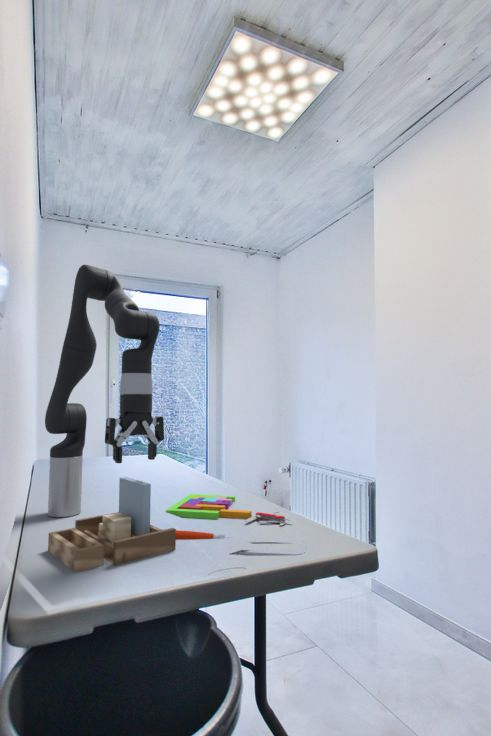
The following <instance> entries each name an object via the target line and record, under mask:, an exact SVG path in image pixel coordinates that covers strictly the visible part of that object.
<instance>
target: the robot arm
mask: <svg viewBox="0 0 491 736" xmlns="http://www.w3.org/2000/svg"><path fill="white" fill-rule="evenodd" d="M88 299H90V300H95V301H101V302H103V301H104V308H105V311H106V313H107V315H109V317H110V318H111V320H113V324H114V330H115V333H116V335H118V336H119V337H120V338H123V339H126V340H136V341H137V340H138V341H140V344H139V346H138V347H135V348H128V349H124V350H123V352H122V353H121V377H120V384H119V417H118V418H115V417H107V418H106V421H105V432H104V433H105V434H104V443H105V444H106V445H109V446H112V460H113V461H114V463H116V464H122V462H123V446H122V445H123V443H124V442H125V440H127V439H128V438H129V436H131V437H132V436H133V437H135V436H143V437H144V438H145V439H146V441H147V442H148V443H147V459H148V460H151V461H153V460H155V458H156V457H157V455H158V453H157V451H158V446H157V445H158V443H159V442H162V441H165V427H164V425H165V423H164V417H163V416H158V415H157V416H154V417H153V416H152V412H153V377H152V376H153V375H152V365H153V364H152V360H153V359H152V358H153V354H154V349H155V346H156V342H157V339H158V336H159V332H160V322H159V318H158V316H157V315H156V314H155V313H153V312H150V311H141V310H140V307H138V305H137V304H136V303H135V301H133V300H132V298H130V297H129V296H128V295H127V294H126V293H125V291H124V288H123V287H122V284H121V282H120V281H119V279H118V277H117V276H116V274H114V272H113V271H110V270H107V269H104V268H99V267H96V266H92V265H90V264H89V265H88V264H82V265H81V266H79V269H78V270H77V273H76V276H75V280H74V284H73V293H72V300H71V307H70V314H69V319H68V325H67V327H66V332H65V337H64V340H63V344H62V349H61V354H60V359H59V365H58V369H57V373H56V374H57V375H56V378H55V382H54V386H53V389H52V391H51V395H50V398H49V402H48V404H47V408H46V411H45V417H44V418H45V419H44V426H45V429H46V431H47V432H48V433H49V434H52V435H63V434H66V435H65V438H64V439H63V440H62V441H61V442H59V443H56V444H55V445H53V446H51V447H50V449H49V450H50V451H49V470H48V471H49V477H48V499H47V505H48V506H47V516H48V517H51V518H65V517H66V518H67V517H72V516H76V515H78V514H81V512H82V489H83V488H82V487H83V485H82V484H83V451H84V448H85V444H86V443H85V442H86V434H87V433H86V432H87V418H88V417H87V411H86V408H85V407H84V405H83V404H82V403H77V402H75V403H72V402H71V403H70V402H69V399H70V396H71V394H72V392H73V390H74V388H75V387H76V386H77V385H78V384H79V383H80V382H81V380H83V379H84V377H85V376H86V375H87V374H88V373H89V371H90V369H91V368H92V366H93V365H94V360H95V355H96V351H97V340H96V336H95V334H94V331H93V329H92V326H91V324H90V321H89V318H88V312H87V302H88ZM152 424H153V426H154V431H153V429H152V428H151V426H152ZM118 425H119V426H120V429H119V431H118V432H117V434H116V428H118Z"/></svg>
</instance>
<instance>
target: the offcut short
mask: <svg viewBox="0 0 491 736" xmlns="http://www.w3.org/2000/svg"><path fill="white" fill-rule="evenodd" d="M113 513H114V514H112V513H108V515H106V514H102V515H103V524H102V525H103V526H105V527H107V528H109V529H110V530H112V531H118V530H122V529H127V528H131V517H128V516H126V515H124V514H121V513H117V512H113Z"/></svg>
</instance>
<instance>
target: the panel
mask: <svg viewBox="0 0 491 736" xmlns="http://www.w3.org/2000/svg"><path fill="white" fill-rule="evenodd" d="M151 485H152V484H151V483H149V482H146V481H143V480H138V479H134V478H132V477H128V476H124V477H119V485H118V486H119V489H118V490H119V492H118V512H119V513H121V514H124V515H126V516H128V517H131V533H132V534H134V535H136V536H139V535H143V534H148V533H150V525H151V497H152V496H151V495H152V494H151V493H152V490H151V488H152V486H151Z"/></svg>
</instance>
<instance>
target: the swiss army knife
mask: <svg viewBox="0 0 491 736" xmlns="http://www.w3.org/2000/svg"><path fill="white" fill-rule="evenodd" d="M278 513H280V511H274V512H265V513H264V512H260V511H259V512H255V515H254V516H253V515H252V517H251V518H249V519H244V522H250V521H252V520H255V521H258V523H271V524H277V525H279V526H284V525H285V524H286V522H285V521H289V522H292V521H293V520H292V519H291V518H286V517H285V516H284V515H279V514H278Z"/></svg>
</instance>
